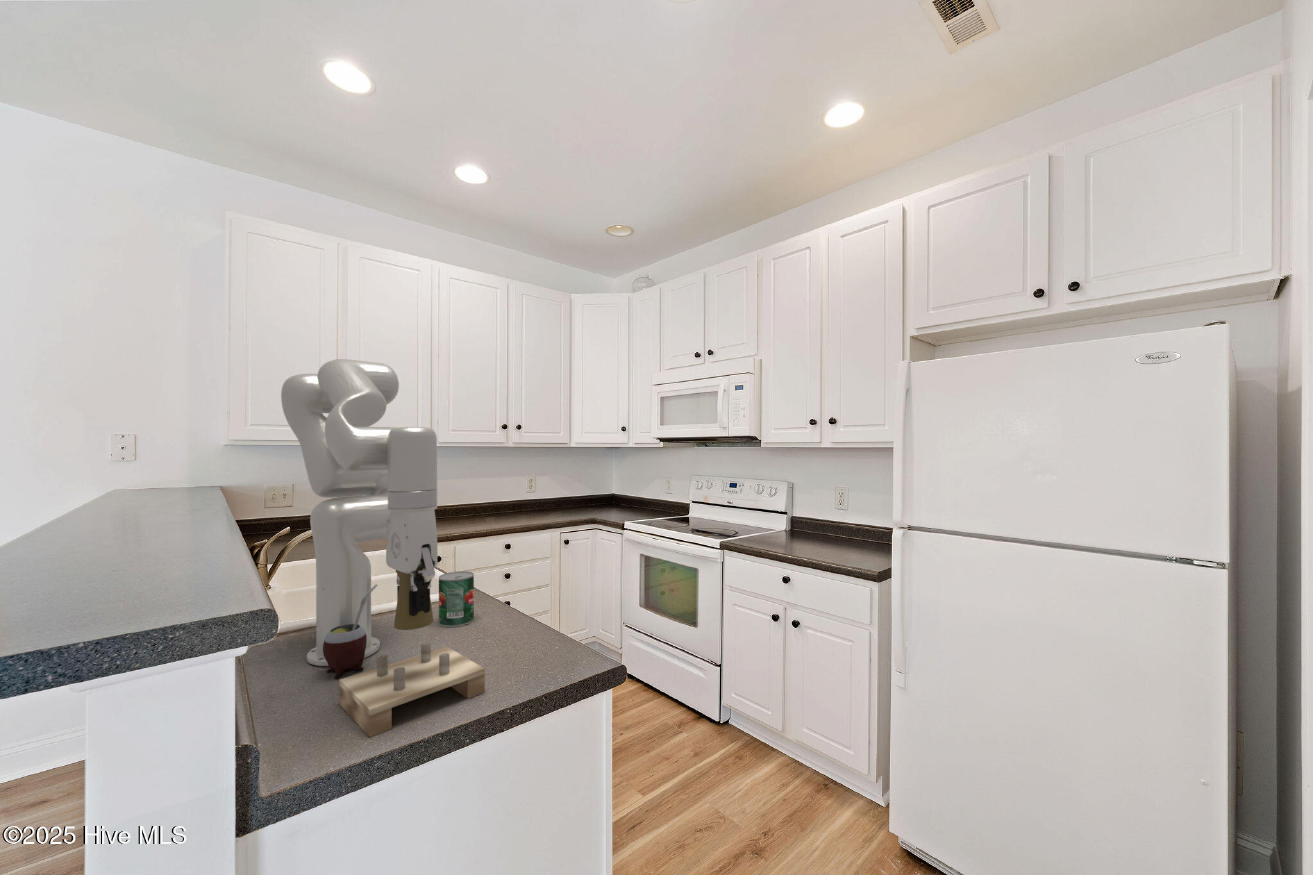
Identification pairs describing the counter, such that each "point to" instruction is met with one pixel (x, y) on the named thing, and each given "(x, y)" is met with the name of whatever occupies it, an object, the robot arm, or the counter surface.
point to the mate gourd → (346, 646)
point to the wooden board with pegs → (406, 685)
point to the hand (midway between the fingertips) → (413, 609)
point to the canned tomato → (456, 599)
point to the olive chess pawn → (402, 610)
